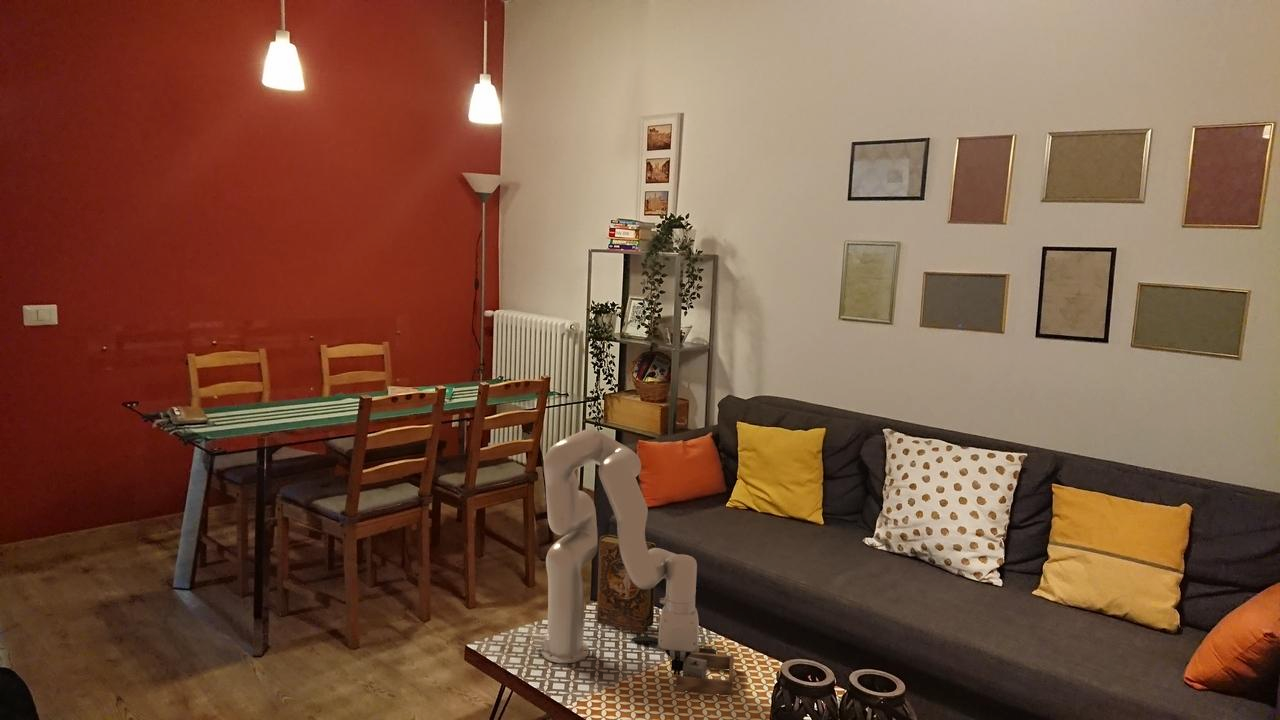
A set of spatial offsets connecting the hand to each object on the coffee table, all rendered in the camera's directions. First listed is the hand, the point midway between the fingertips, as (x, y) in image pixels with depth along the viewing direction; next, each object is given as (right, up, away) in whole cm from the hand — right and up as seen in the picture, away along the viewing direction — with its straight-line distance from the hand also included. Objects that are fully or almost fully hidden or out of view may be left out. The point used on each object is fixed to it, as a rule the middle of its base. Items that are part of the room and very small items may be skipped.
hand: (677, 672), depth 212 cm
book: (-14, +3, +29) cm, 32 cm away
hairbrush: (-1, 0, +14) cm, 14 cm away
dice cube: (+4, -2, -2) cm, 5 cm away
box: (+7, -1, -1) cm, 7 cm away
